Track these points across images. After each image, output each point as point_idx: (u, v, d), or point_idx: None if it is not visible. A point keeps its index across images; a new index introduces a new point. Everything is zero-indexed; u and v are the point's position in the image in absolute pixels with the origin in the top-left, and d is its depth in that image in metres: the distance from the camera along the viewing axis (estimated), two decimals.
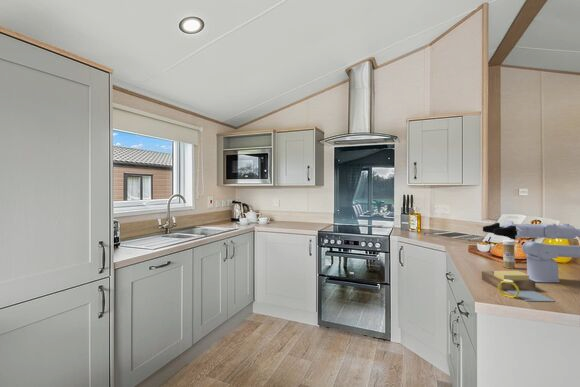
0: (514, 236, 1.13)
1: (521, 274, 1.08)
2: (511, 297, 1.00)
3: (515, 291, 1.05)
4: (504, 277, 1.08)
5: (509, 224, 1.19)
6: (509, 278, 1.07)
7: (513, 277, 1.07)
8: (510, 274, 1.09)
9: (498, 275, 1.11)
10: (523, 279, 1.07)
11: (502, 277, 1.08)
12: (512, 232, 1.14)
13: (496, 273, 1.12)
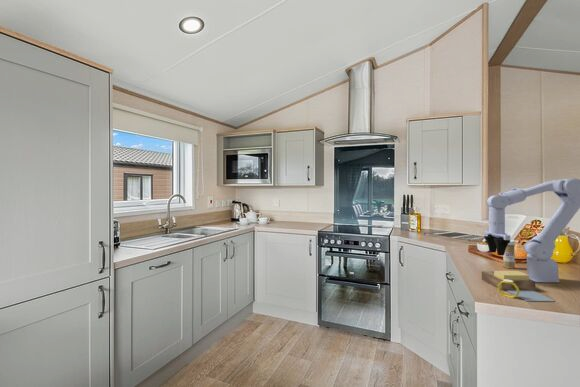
0: (507, 240, 1.17)
1: (521, 274, 1.08)
2: (511, 297, 1.00)
3: (515, 291, 1.05)
4: (504, 277, 1.08)
5: None
6: (509, 278, 1.07)
7: (513, 277, 1.07)
8: (510, 274, 1.09)
9: (498, 275, 1.11)
10: (523, 279, 1.07)
11: (502, 277, 1.08)
12: None
13: (496, 273, 1.12)
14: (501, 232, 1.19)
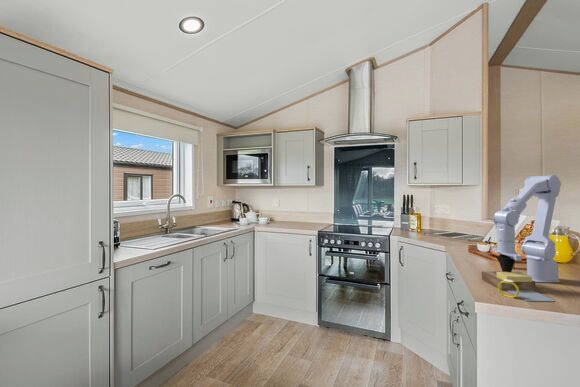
0: (514, 259, 1.10)
1: (524, 275, 1.07)
2: (511, 297, 1.00)
3: (515, 291, 1.05)
4: (507, 278, 1.06)
5: None
6: (512, 279, 1.06)
7: (516, 278, 1.06)
8: (513, 275, 1.07)
9: (501, 276, 1.09)
10: (526, 280, 1.05)
11: (505, 278, 1.07)
12: None
13: (499, 274, 1.11)
14: (511, 251, 1.10)
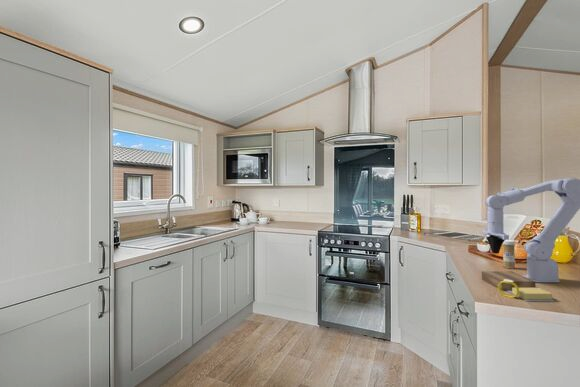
0: (502, 239, 1.20)
1: None
2: (511, 297, 1.00)
3: None
4: None
5: (488, 234, 1.23)
6: None
7: None
8: None
9: None
10: None
11: (513, 290, 1.02)
12: None
13: (521, 295, 0.99)
14: (500, 232, 1.20)
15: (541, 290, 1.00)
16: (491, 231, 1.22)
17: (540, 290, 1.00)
